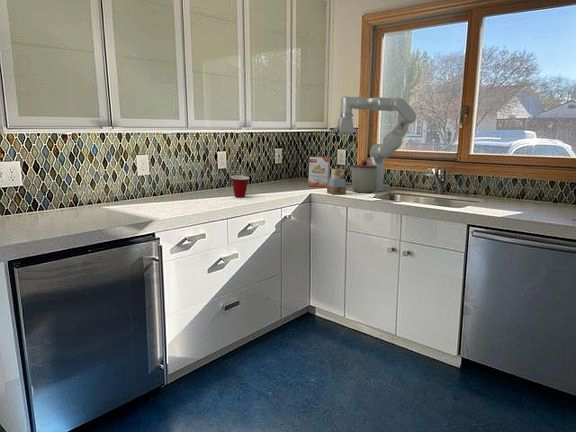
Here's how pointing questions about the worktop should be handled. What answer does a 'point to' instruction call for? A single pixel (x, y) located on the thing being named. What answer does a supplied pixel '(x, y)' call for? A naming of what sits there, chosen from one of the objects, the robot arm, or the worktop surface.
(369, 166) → the canister
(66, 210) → the worktop surface
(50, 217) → the worktop surface
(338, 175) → the oak cube
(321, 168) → the cracker box
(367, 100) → the robot arm
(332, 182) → the tower top
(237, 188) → the plastic cup
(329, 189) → the tower base
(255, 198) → the worktop surface
